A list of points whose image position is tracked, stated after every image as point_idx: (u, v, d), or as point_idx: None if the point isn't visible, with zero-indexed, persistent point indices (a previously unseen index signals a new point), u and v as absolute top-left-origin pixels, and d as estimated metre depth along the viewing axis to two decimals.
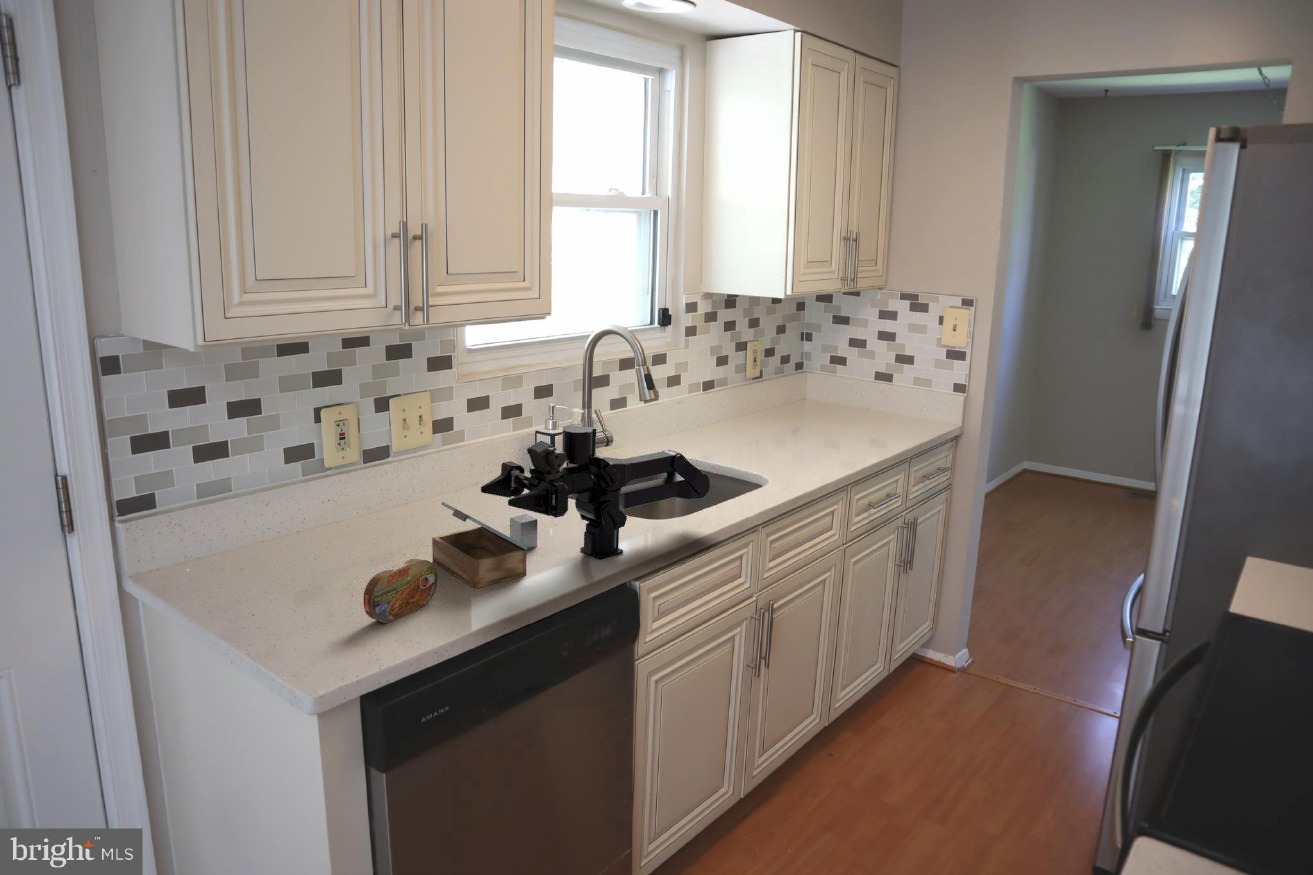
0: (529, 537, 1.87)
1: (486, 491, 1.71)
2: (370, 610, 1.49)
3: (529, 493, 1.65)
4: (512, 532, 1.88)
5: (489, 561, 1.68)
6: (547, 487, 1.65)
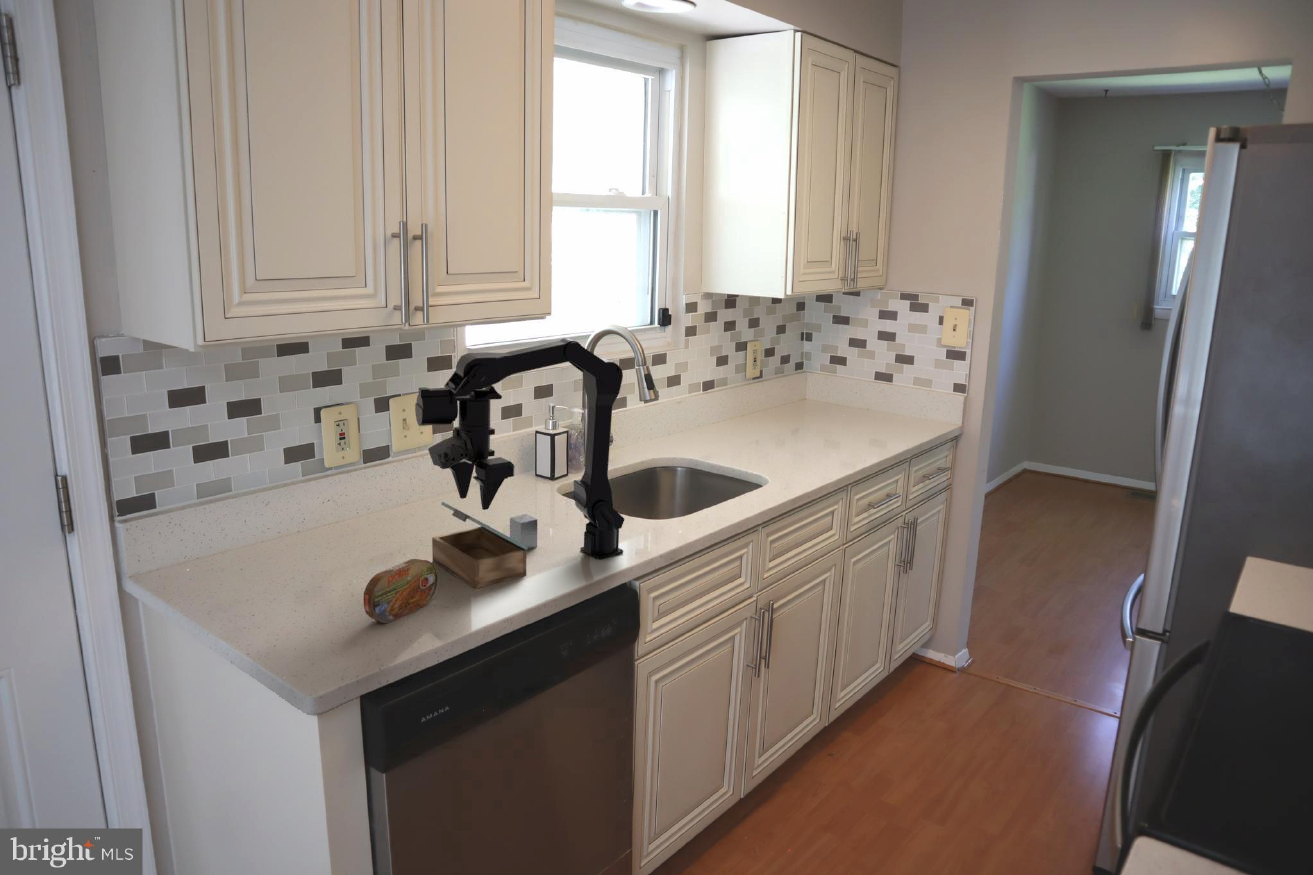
0: (529, 537, 1.87)
1: (465, 493, 1.75)
2: (370, 610, 1.49)
3: (481, 491, 1.67)
4: (512, 532, 1.88)
5: (489, 561, 1.68)
6: (482, 481, 1.65)
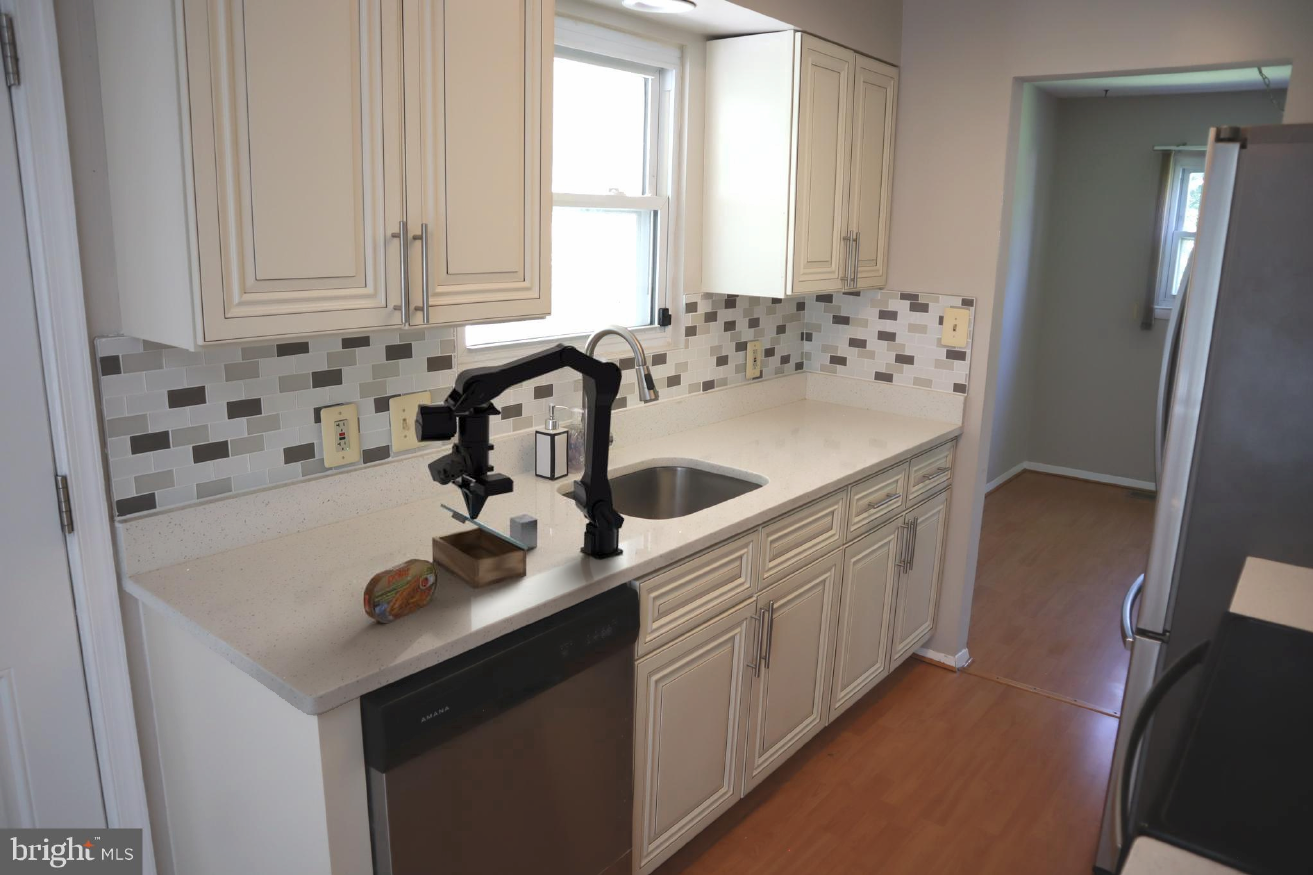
0: (529, 537, 1.87)
1: None
2: (370, 610, 1.49)
3: (470, 501, 1.71)
4: (512, 532, 1.88)
5: (489, 561, 1.68)
6: None
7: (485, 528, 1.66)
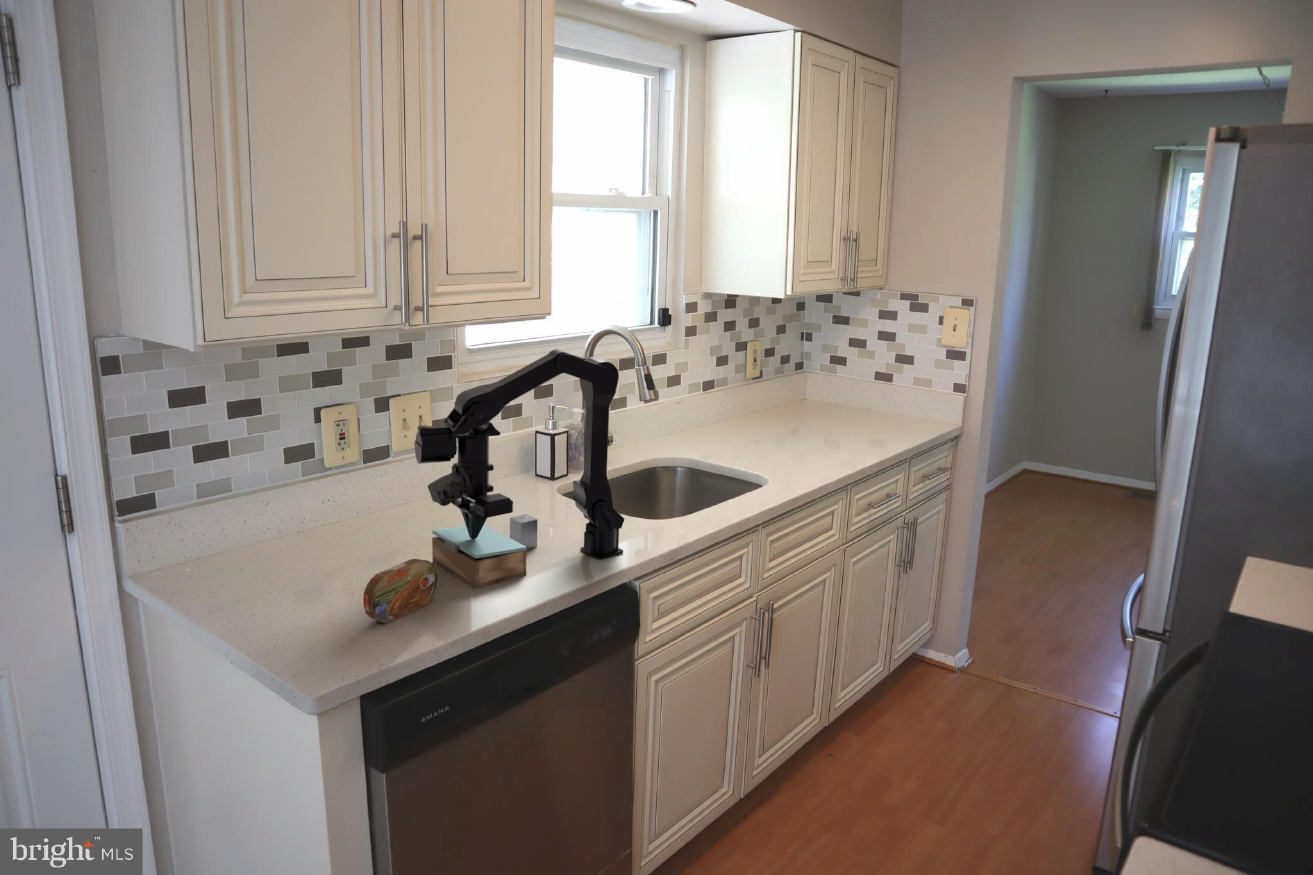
0: (529, 537, 1.87)
1: None
2: (370, 610, 1.49)
3: (470, 521, 1.72)
4: (512, 532, 1.88)
5: (489, 561, 1.68)
6: (470, 512, 1.69)
7: (476, 556, 1.66)
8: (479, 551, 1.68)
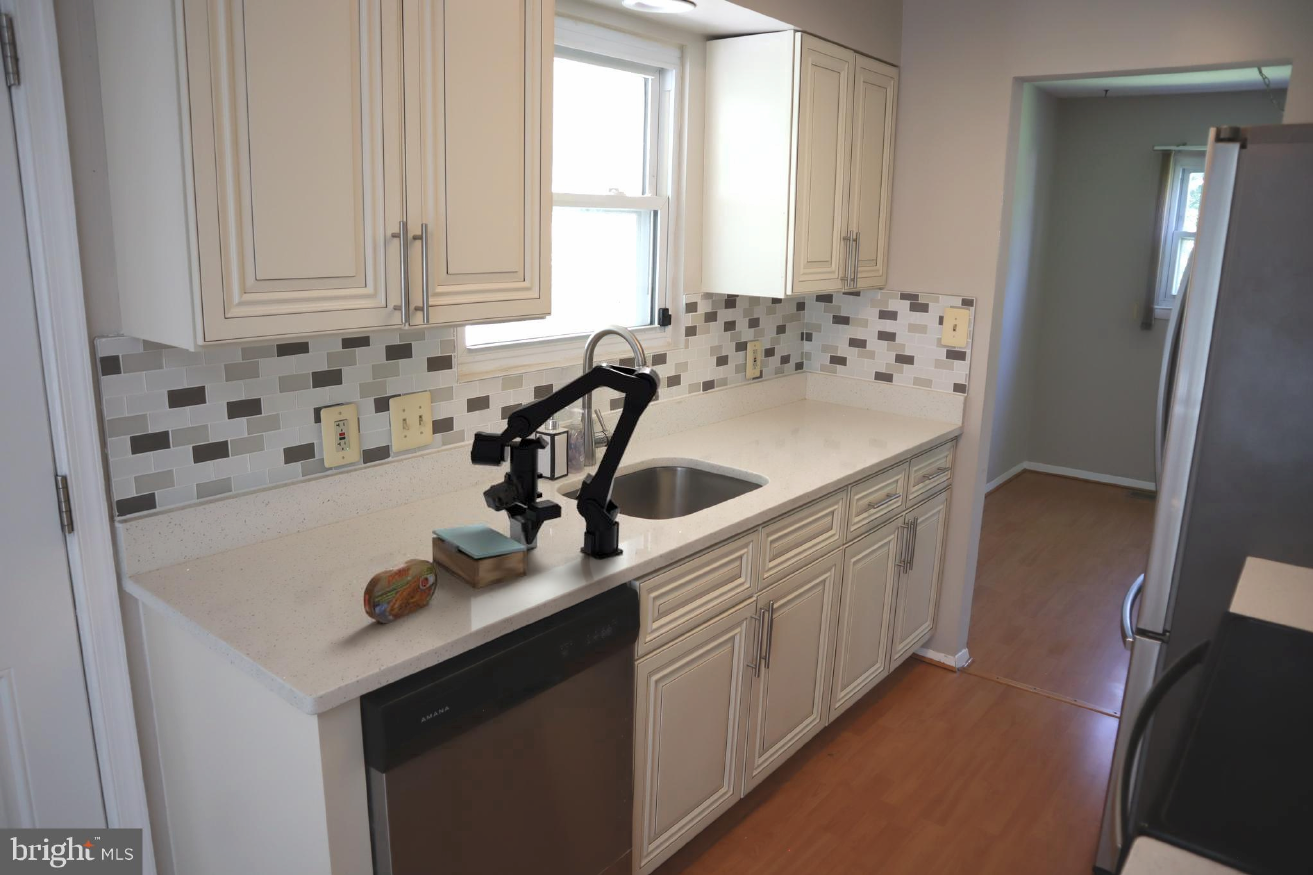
0: None
1: None
2: (370, 610, 1.49)
3: (526, 528, 1.85)
4: (512, 531, 1.88)
5: (489, 561, 1.68)
6: None
7: (476, 556, 1.66)
8: (479, 551, 1.68)
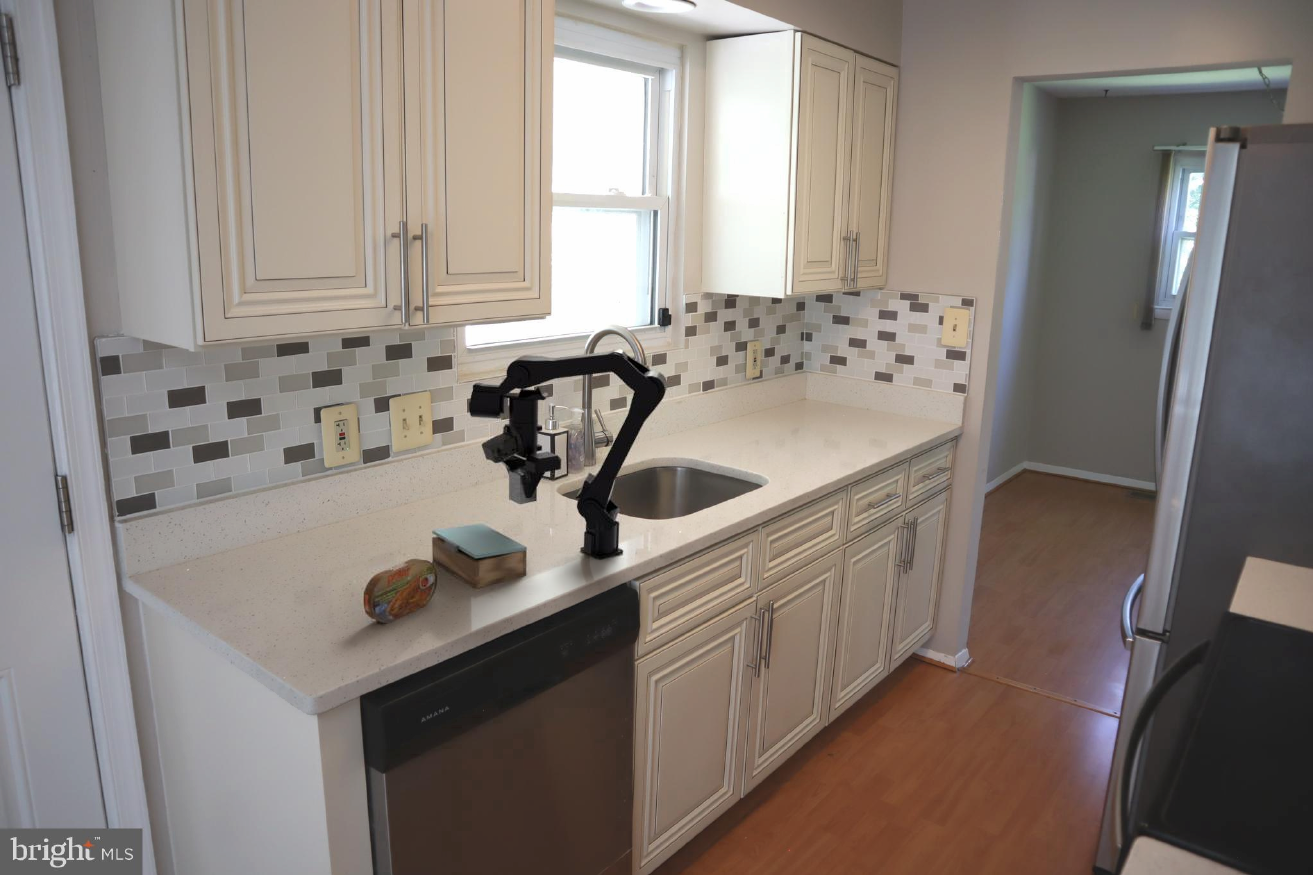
0: None
1: None
2: (370, 609, 1.49)
3: (526, 481, 1.82)
4: (511, 485, 1.85)
5: (489, 561, 1.68)
6: None
7: (476, 556, 1.66)
8: (479, 551, 1.68)
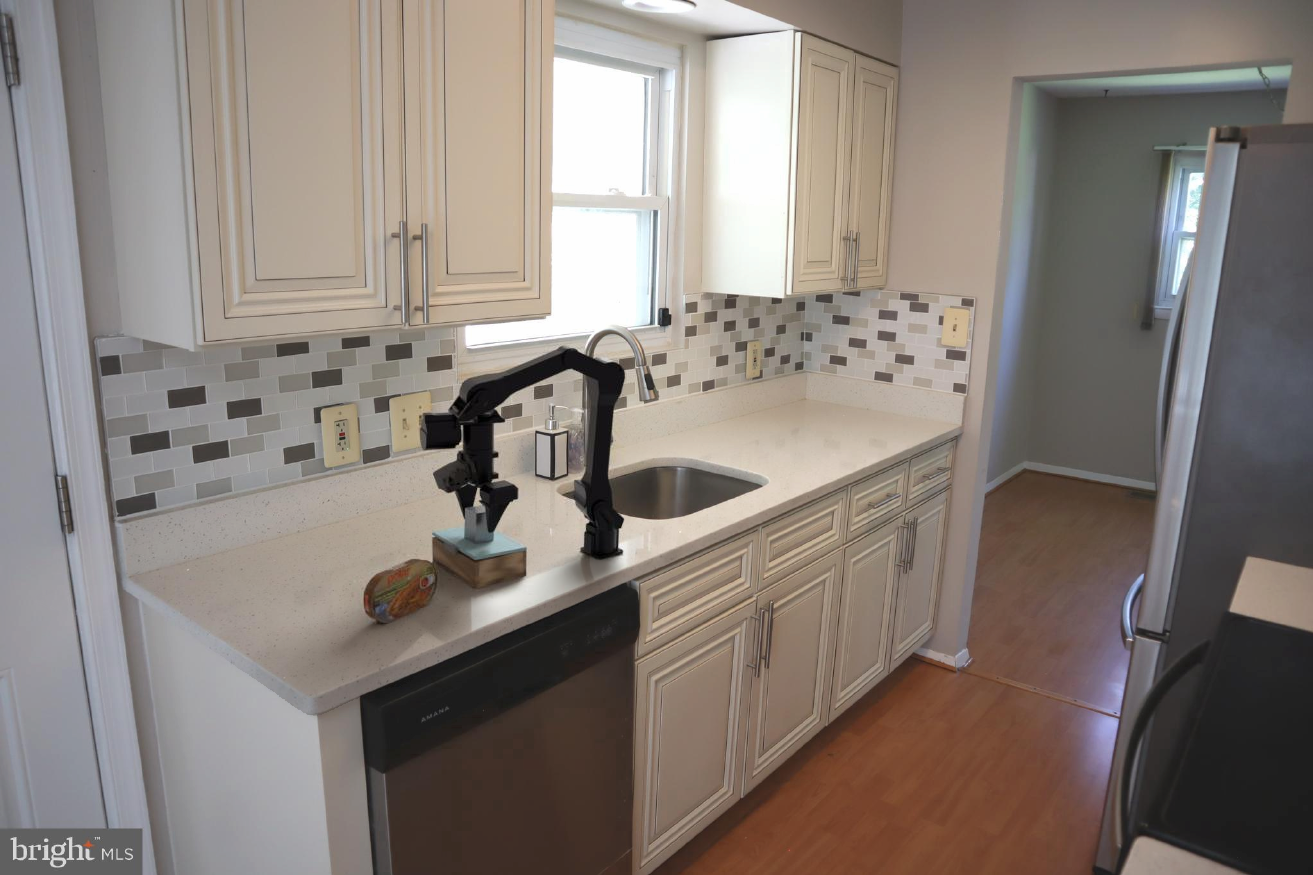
0: (484, 530, 1.73)
1: None
2: (370, 610, 1.49)
3: (487, 514, 1.69)
4: (467, 523, 1.74)
5: (489, 561, 1.68)
6: (487, 505, 1.66)
7: (476, 558, 1.66)
8: (479, 552, 1.68)
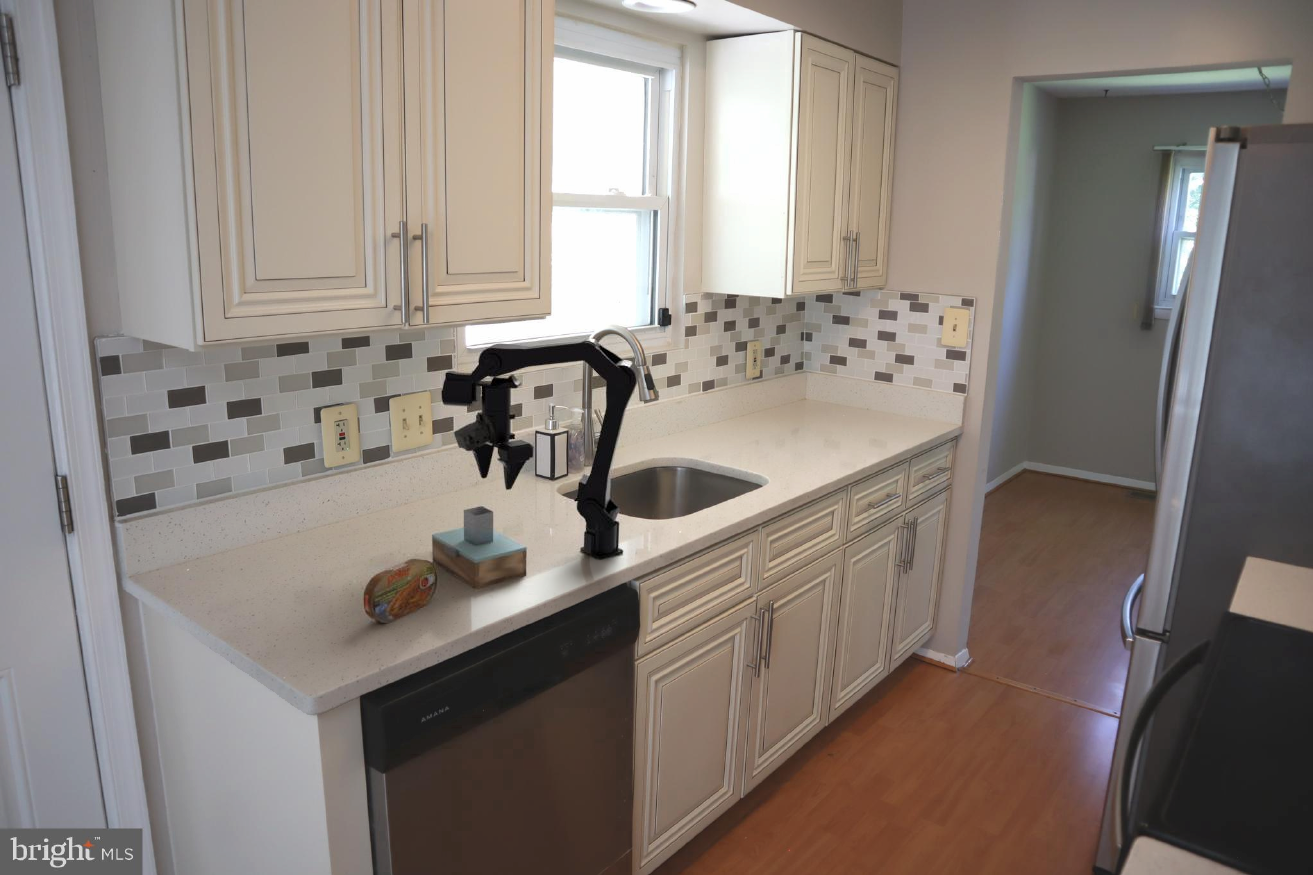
0: (484, 531, 1.73)
1: (486, 473, 1.89)
2: (370, 610, 1.49)
3: (505, 472, 1.80)
4: (466, 525, 1.74)
5: (489, 561, 1.68)
6: (505, 463, 1.78)
7: (476, 561, 1.66)
8: (479, 555, 1.68)
